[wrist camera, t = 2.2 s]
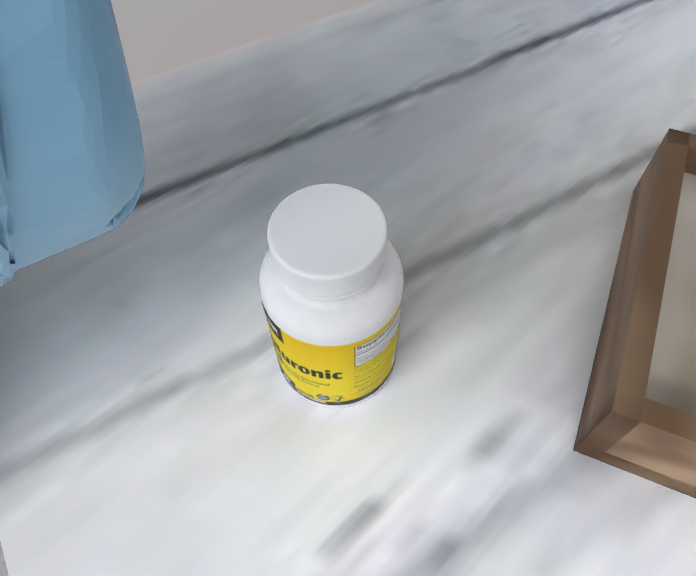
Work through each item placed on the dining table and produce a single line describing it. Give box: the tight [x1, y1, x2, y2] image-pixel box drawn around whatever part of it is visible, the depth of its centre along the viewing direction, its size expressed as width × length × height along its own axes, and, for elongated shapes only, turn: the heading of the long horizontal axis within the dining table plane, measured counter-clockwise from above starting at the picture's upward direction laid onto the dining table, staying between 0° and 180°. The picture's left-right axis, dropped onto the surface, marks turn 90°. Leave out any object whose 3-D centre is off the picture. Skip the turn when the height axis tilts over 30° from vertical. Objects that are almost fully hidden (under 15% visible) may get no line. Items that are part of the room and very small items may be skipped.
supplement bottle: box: [259, 183, 404, 408], centre depth 23 cm, size 5×5×10 cm
